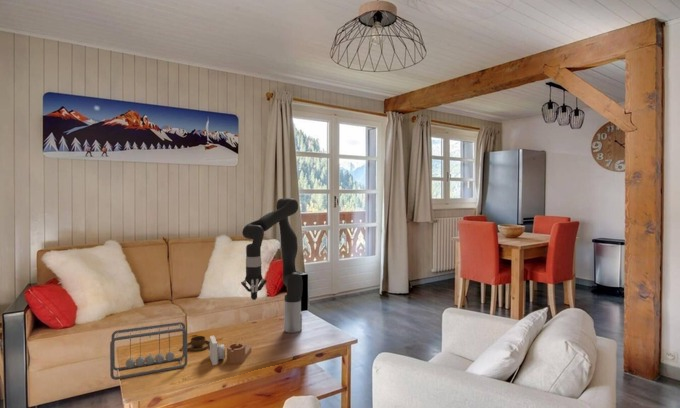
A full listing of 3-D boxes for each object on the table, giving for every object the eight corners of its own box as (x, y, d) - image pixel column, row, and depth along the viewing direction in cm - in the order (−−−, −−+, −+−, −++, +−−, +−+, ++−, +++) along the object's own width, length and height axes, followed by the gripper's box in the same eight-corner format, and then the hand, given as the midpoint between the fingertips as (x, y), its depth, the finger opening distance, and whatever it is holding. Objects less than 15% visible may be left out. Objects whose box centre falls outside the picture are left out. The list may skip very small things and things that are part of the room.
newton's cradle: (185, 358, 187) (185, 321, 187) (187, 367, 178) (187, 328, 177) (111, 370, 174) (111, 330, 173) (110, 381, 164) (109, 339, 164)
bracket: (242, 365, 181) (242, 350, 181) (224, 364, 182) (224, 349, 182) (253, 349, 199) (253, 335, 199) (237, 348, 200) (237, 335, 200)
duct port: (222, 354, 192) (222, 334, 191) (225, 363, 183) (225, 341, 182) (209, 356, 189) (209, 336, 189) (212, 365, 180) (212, 343, 180)
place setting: (217, 341, 209) (217, 330, 209) (215, 357, 190) (215, 345, 189) (181, 344, 205) (181, 333, 204) (175, 361, 185) (175, 348, 185)
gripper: (264, 262, 203) (264, 295, 204) (238, 264, 197) (238, 299, 198) (268, 265, 197) (269, 299, 198) (242, 267, 191) (242, 303, 191)
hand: (254, 299), depth 198 cm, fingers closed
